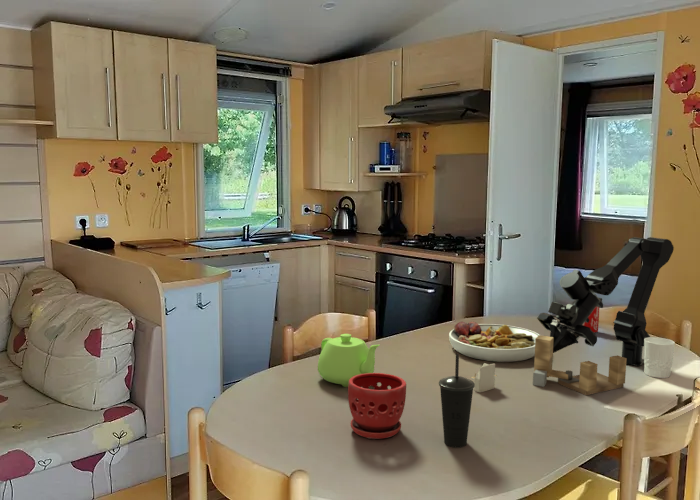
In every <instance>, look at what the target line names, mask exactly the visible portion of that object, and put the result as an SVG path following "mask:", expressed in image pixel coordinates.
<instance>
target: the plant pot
mask: <svg viewBox="0 0 700 500" xmlns="http://www.w3.org/2000/svg"><path fill="white" fill-rule="evenodd" d="M378 384H380V385H378ZM370 387H373V389H371V388H370ZM388 387H390V389H389V388H388ZM347 388H348V389H347V394H348V395H347V398H348V399H347V401H348V408H349V411H350V414H351V416H352V419H351V420H350V422H349V423H350V427H351V429H352V431H353V432H354V433H355V434H357V435H359V436H361V437H364V438H366V439H368V440H369V439H373V440H375V439H379V440H380V439H381V440H382V439H387V438H391V437H393V436H395V435H396V434H398V433H399V432H400V430H401V428H402V423H401V421H400V419H401V418H402V416H403V413H404V410H405V404H406V396H407V382H406V381H405V379H403V378H402V377H400V376H398V375H394V374H388V373H381V372H373V373H365V374H359V375H356V376H353V377H352V378H350V380H349V384H348V387H347Z"/></svg>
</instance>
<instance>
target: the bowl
mask: <svg viewBox="0 0 700 500" xmlns="http://www.w3.org/2000/svg"><path fill="white" fill-rule="evenodd" d="M539 335H541V334H539V333H538V332H536V331H534V330H530V329H529V328H524V327H520V326H519V327H518V326H514V325H508V324H495V323H478V322H475V321H469V322H468V323H467V322H466V321H459V322H457V323H456V324H455V325H454V327H453V329H452V330H450V331H449V333H448V339H449V342H450V345H451V346H452V348H453V349H455V351H456V352H457V353H458V354H459V353H460V354H462V355H463V356H466V357H468V358H473V359H475V360H482V361H487V362H495V363H496V362H499V363H501V362H502V363H509V362H510V363H511V362H520V361H526V360H529V359H531V358H535V339H536V338H537V337H538V336H539Z"/></svg>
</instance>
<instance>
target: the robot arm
mask: <svg viewBox="0 0 700 500" xmlns="http://www.w3.org/2000/svg"><path fill="white" fill-rule="evenodd" d="M674 249H675V247H674V244H673V242H672V241H671V240H670V239H668V238H660V237H653V236H652V237H651V236H650V237H647V238H644V237H637V236H634V237H631V238H629V239H628V241H627V243H626V244H625V245H624V246H622V248H621V249H620V250H619V251H618V252H617V253H616V254H615V255H614V256H613V257H612V258H611V259H610V260H609V261H608V262H607V263H606V264H605V265H603V266H601V267H599V268H596V269H593V271H591V272H590V273H589V274H588V275H587V276H586V277H584V275H583V273H582V271H581V270H579V269H578V270H577V269H573V270H572V272H569V273H567V274H564V276H561V278H560V280H559V286H560V287H561V288H562V290H563V291H564V292H565V294H566V295H567V296H568V297H569V299H571V300H573V302H572V303H568V304H566V305H564V304H561V303H559V302H555V301H552V302H551V303H550V306H549V309H548V313H546V312H540V314H539V315H538V317H536V320H537V321H539V323H540V324H541V325H542V326H543V327H544V329H545V330H547V331H549V332H550V334H549V337H554V340H553V354H554V353H556V352H559V351H560V350H562V349H564V348H567V347H569V346H572V345H575V344H579V341H578V340H579V339H580V338H583V339H584V344H585V345H587V346H590V347H594V346H595V345H596V344H597V342H598V336H597V335H596V333H594V332H593V331H592V330H591V329H590V328H589V327H586V326H583V324H584V322H587V323H588V322H589V321H590V320H589V318H588V317H589V315H590V314H591V313H592V311H593V310H594V309H595V307H599V309H600V308H601V309H603V308H604V302H603V298H602V297H599V296H597V295H602V296H610V295H611V294H612V293H613V292H614V290H615V289H616V288H617V286H618V284H619V278H620V277H621V275H622V274H623V273H625V272H626V270H628V268H630V266H631V265H632V264H633V263H635V261H636V260H637V259H638V258H639V257H640V258H641V262H642V263H641V266H640V270H639V273H638V276H637V279H636V281H635V284H634V286H633V290H632V292H631V296H630V298H629V301H628V304H627V307H626V308H625V309H623V310H622V311H621V310H618V311H617V313H616V316H615V319H614V320H613V331H614V334H615V339H616V341H621V342H622V343H621V344H622V346H621V357H624V358H627V360H626V365H631V366H637V367H641V366H642V365H643V364H644V358H643V352H644V339H645V338H648V337H651V335H650V334H649V333H648V332H647V330H646V327H647V320H646V316H645V314H646V313H645V311H646V309H647V306H648V304H649V300H650V298H651V295H652V292H653V289H654V286H655V284H656V281H657V278H658V275H659V272H660V270H661V269H662V267H664V266H665V265H666V264H667V263H668V262H669V261H670V259H671V257H672V255H673V252H674ZM552 314H553V315H555V317H554V316H553V315H552Z"/></svg>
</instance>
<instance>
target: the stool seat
mask: <svg viewBox="0 0 700 500" xmlns="http://www.w3.org/2000/svg"><path fill="white" fill-rule="evenodd" d="M626 360H627V358H624V357H622V355H617V354H616V355H612V356H610V357H609V361H608V376H607V375H604V374H602V373H599V372H598V363H595V362H592V361H589V360H587V361H581V362H579V363H580V364H579V374H577V375H572V379H571V380H567V379H561V378H557V384H559V385H561V386H563V387H566V388H568V389H570V390H572V391H575V392H578V393H579V394H582V395H584V396H589V395H594V394H597V393H603V392H606V391H611V390H616V389H620V388H623V387H625V386H624V384H626V375H627V374H626V373H627V372H626V371H627V364H626Z"/></svg>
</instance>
